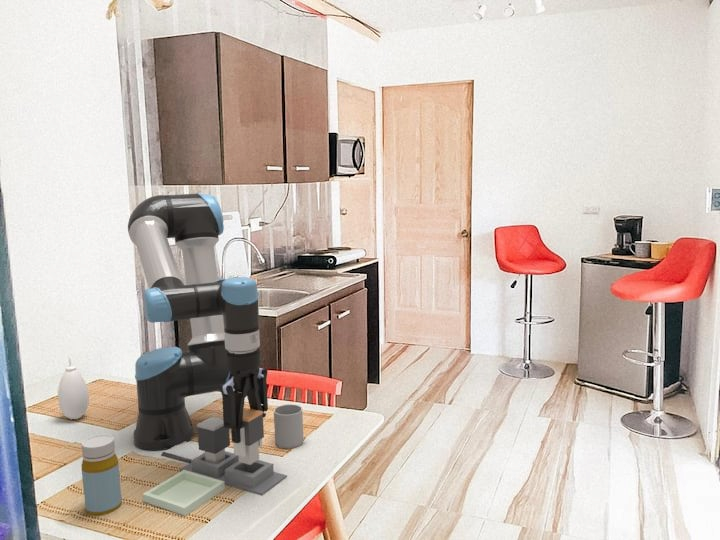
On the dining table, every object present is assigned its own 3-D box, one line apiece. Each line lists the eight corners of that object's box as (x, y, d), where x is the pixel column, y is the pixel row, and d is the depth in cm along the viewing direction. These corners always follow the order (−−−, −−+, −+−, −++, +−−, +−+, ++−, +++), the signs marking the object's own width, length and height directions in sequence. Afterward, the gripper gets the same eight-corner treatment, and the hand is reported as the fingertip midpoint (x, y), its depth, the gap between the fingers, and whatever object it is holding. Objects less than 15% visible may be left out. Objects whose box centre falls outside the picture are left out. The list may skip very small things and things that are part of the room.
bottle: (92, 500, 134) (86, 434, 131) (126, 498, 134) (120, 433, 132) (81, 518, 127) (74, 449, 124) (116, 516, 127) (110, 447, 125)
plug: (233, 462, 139) (230, 415, 137) (247, 453, 143) (245, 407, 141) (250, 467, 136) (248, 419, 135) (264, 458, 141) (262, 411, 139)
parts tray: (143, 504, 132) (142, 494, 131) (184, 479, 142) (183, 469, 142) (185, 518, 126) (184, 508, 126) (225, 491, 136) (224, 481, 136)
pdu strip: (149, 464, 150) (145, 416, 148) (176, 449, 157) (173, 403, 156) (262, 497, 133) (259, 444, 131) (287, 479, 141) (284, 428, 139)
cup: (284, 451, 155) (283, 417, 154) (264, 438, 163) (262, 406, 161) (309, 443, 159) (307, 410, 158) (288, 431, 167) (286, 399, 166)
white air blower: (96, 414, 182) (90, 354, 179) (79, 424, 174) (73, 362, 171) (71, 412, 183) (65, 353, 180) (54, 423, 175) (48, 361, 172)
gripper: (228, 362, 126) (234, 470, 130) (281, 340, 142) (285, 437, 145) (200, 358, 130) (207, 463, 133) (255, 337, 145) (260, 431, 149)
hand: (248, 449), depth 139 cm, fingers closed on plug, 5 cm apart
